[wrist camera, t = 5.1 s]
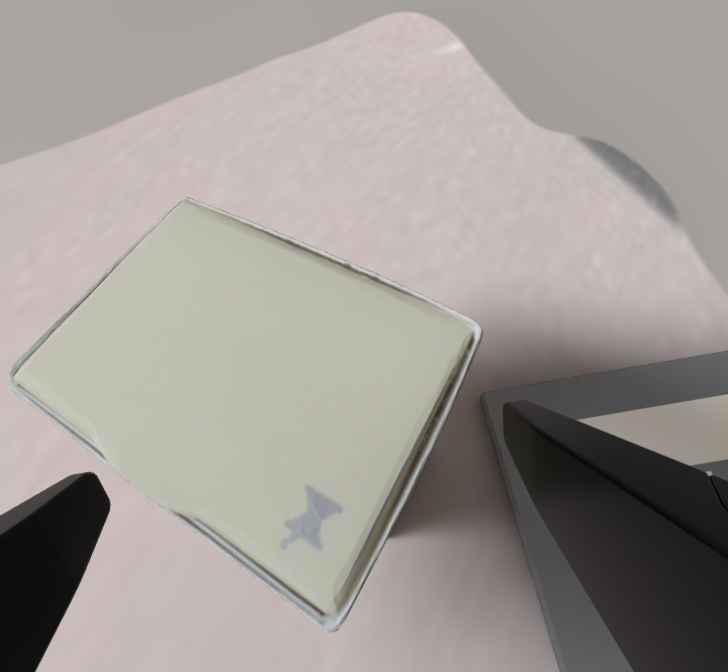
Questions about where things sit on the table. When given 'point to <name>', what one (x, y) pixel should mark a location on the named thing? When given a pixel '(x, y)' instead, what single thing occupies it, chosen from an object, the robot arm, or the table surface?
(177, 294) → the skincare box
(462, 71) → the table surface
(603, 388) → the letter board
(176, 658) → the table surface
